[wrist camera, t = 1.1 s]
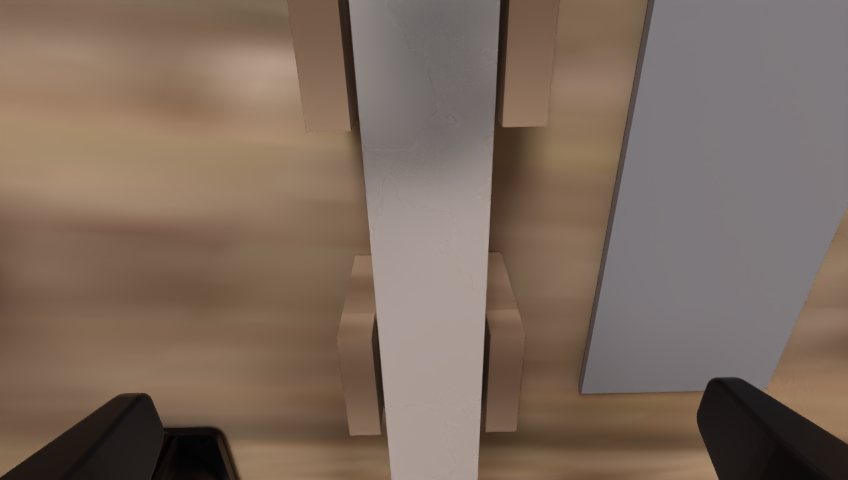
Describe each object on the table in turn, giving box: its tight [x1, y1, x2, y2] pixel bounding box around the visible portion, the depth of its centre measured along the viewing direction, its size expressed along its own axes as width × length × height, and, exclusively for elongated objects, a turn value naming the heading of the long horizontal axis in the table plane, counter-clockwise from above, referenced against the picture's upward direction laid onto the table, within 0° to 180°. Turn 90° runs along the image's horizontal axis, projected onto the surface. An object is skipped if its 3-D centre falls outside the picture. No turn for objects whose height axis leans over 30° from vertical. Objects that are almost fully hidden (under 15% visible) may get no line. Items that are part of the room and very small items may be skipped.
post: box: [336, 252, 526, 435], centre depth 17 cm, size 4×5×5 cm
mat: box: [579, 0, 848, 394], centre depth 16 cm, size 20×8×1 cm, turn 1°
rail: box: [349, 0, 500, 480], centre depth 12 cm, size 17×3×3 cm, turn 1°
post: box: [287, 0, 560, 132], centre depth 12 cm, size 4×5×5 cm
